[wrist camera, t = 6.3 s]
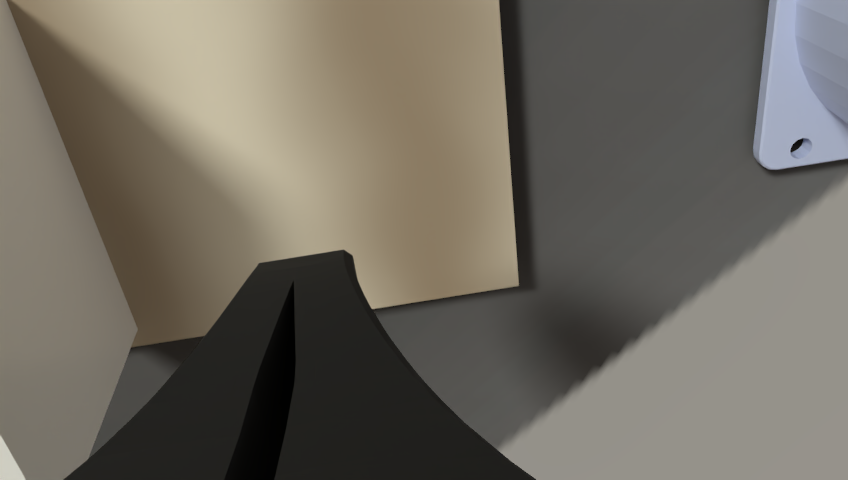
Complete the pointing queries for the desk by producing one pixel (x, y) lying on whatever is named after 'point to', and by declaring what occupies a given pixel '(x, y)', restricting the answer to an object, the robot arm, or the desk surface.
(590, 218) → the desk surface
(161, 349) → the desk surface
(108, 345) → the tile
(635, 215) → the desk surface
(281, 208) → the board
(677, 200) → the desk surface
